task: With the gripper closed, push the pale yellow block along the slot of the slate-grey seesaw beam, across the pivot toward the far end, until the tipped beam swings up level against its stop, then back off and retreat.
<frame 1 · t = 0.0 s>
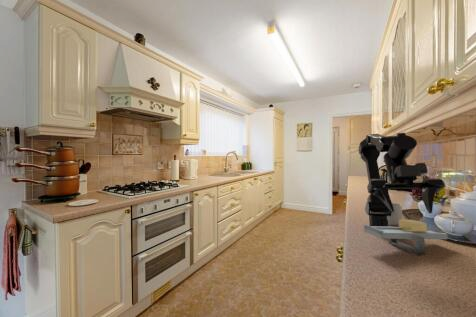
hand: (411, 212, 60), 15 cm above the countertop, tool tilted 35°, fingers open, 9 cm apart
cup: (393, 223, 97), on the countertop
stand: (405, 248, 70), on the countertop
pale yellow block: (412, 231, 70), point 5 cm above the countertop, tilted 7°, touching beam
beam: (405, 232, 70), point 5 cm above the countertop, hinge at -6.7°, touching pale yellow block
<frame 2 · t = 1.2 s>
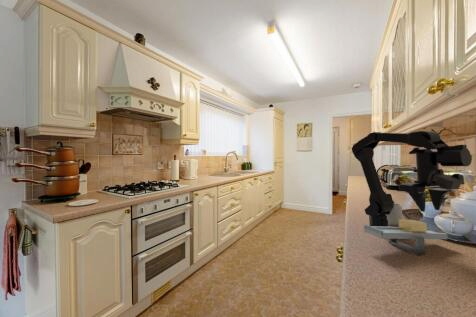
hand: (429, 210, 72), 12 cm above the countertop, tool pointing down, fingers open, 6 cm apart
nothing on the countertop moved.
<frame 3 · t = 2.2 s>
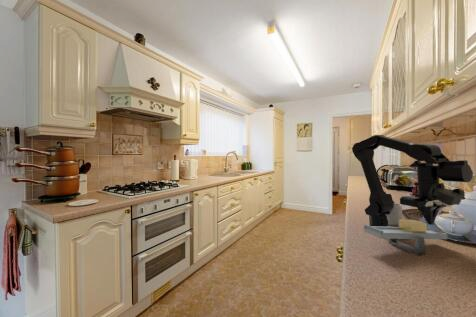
hand: (430, 224, 72), 7 cm above the countertop, tool pointing down, fingers closed
nothing on the countertop moved.
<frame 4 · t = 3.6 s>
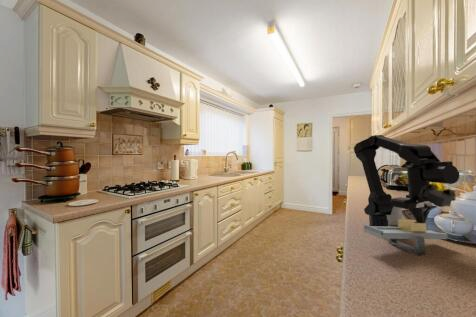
hand: (421, 225, 71), 7 cm above the countertop, tool pointing down, fingers closed
pale yellow block: (411, 231, 70), point 5 cm above the countertop, tilted 7°, touching gripper
beam: (405, 232, 70), point 5 cm above the countertop, hinge at -6.5°
everything else where it was.
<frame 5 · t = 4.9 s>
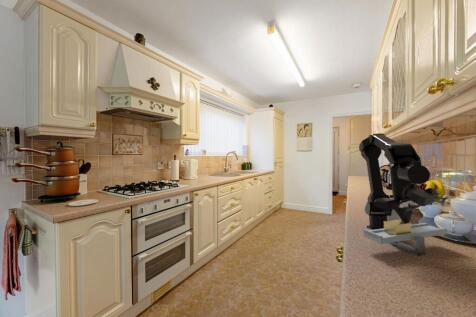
hand: (406, 225, 70), 8 cm above the countertop, tool pointing down, fingers closed
pale yellow block: (397, 232, 69), point 6 cm above the countertop, touching beam, gripper
beam: (404, 232, 70), point 5 cm above the countertop, hinge at 1.0°, touching pale yellow block
everything else where it was.
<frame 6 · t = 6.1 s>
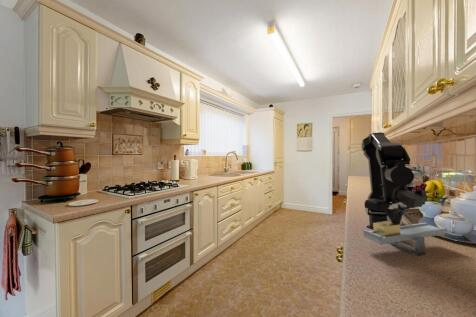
hand: (396, 227, 69), 7 cm above the countertop, tool pointing down, fingers closed
pale yellow block: (386, 234, 69), point 5 cm above the countertop, touching beam, gripper
beam: (404, 232, 70), point 5 cm above the countertop, hinge at 1.6°, touching pale yellow block
everything else where it was.
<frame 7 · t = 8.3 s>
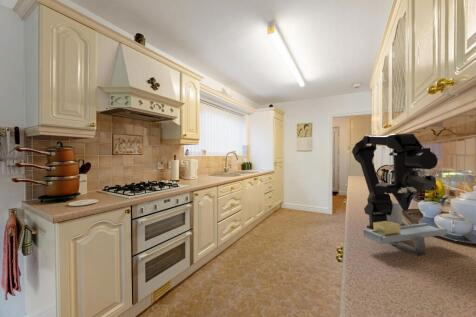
hand: (405, 210, 74), 12 cm above the countertop, tool pointing down, fingers closed
pale yellow block: (386, 234, 69), point 6 cm above the countertop, touching beam
beam: (404, 232, 70), point 5 cm above the countertop, hinge at 0.8°, touching pale yellow block
everything else where it was.
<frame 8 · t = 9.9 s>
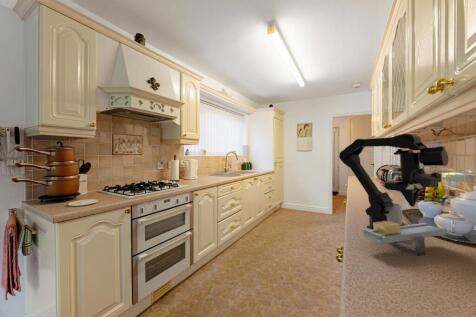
hand: (412, 206, 79), 12 cm above the countertop, tool pointing down, fingers closed
nothing on the countertop moved.
at the end: beam at +1° (first picture: -7°); pale yellow block 1.2 cm from the target spot on the beam, point 1.1 cm above the beam's base; pale yellow block touching beam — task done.
